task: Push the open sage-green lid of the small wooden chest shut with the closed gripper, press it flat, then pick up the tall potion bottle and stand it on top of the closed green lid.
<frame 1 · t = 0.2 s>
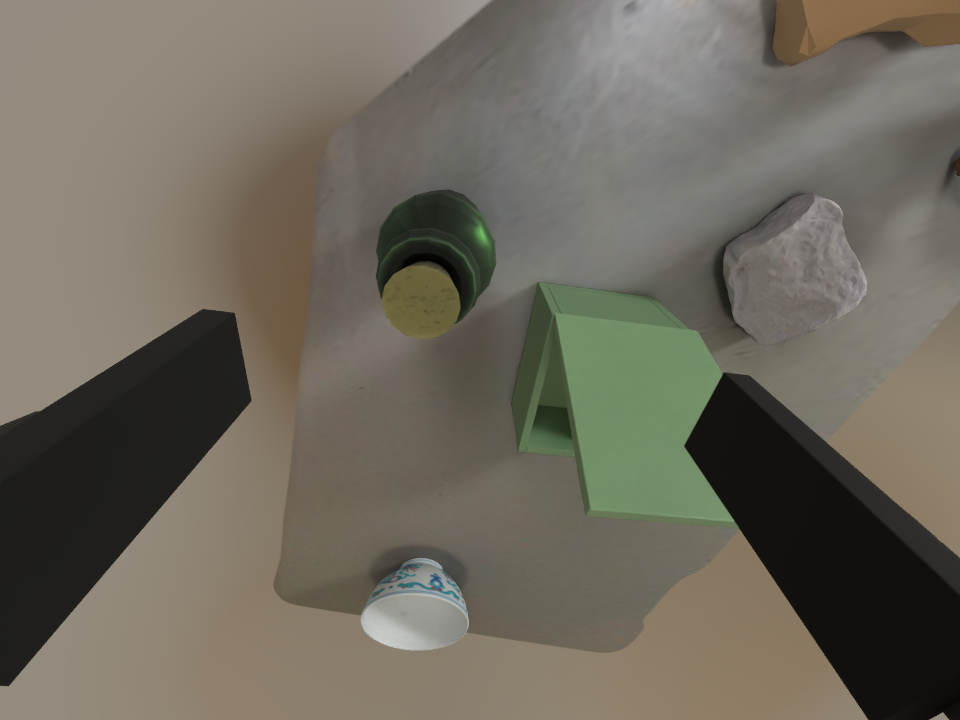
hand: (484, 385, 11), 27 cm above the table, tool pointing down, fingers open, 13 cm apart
stone block: (768, 273, 37), on the table
potion bottle: (446, 228, 34), on the table
chinaware: (421, 569, 60), on the table
chest: (576, 354, 41), on the table
chest lid: (654, 402, 25), point 16 cm above the table, hinge at 75.0°
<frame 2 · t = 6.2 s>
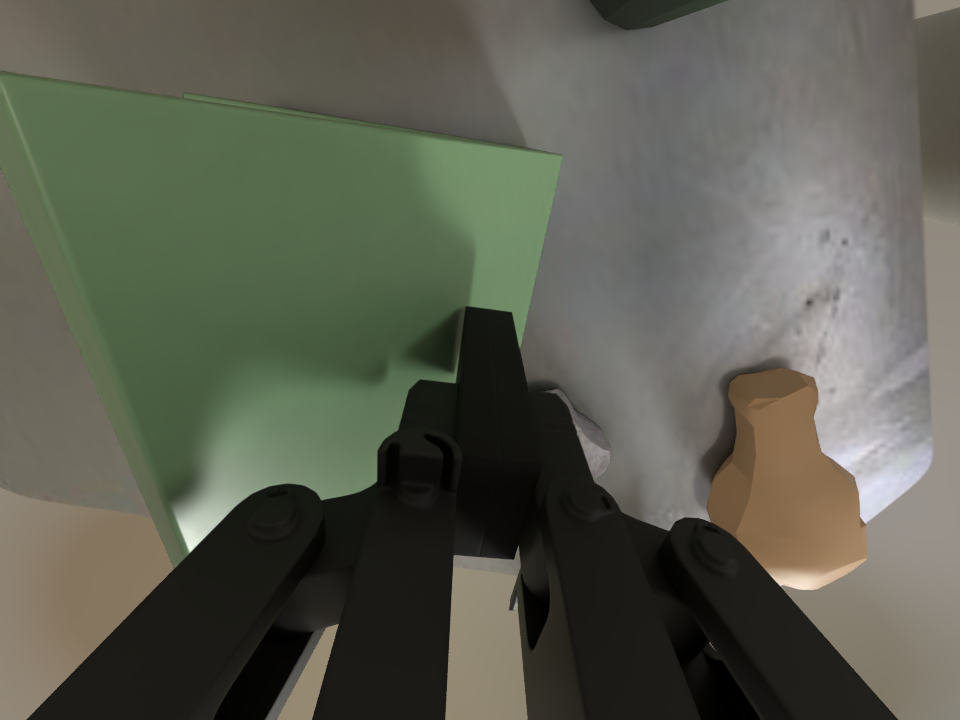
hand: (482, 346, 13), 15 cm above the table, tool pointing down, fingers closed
stone block: (519, 434, 34), on the table
squash: (748, 449, 35), on the table
chest: (401, 231, 25), on the table
chest lid: (434, 346, 12), point 15 cm above the table, hinge at 61.1°, touching gripper
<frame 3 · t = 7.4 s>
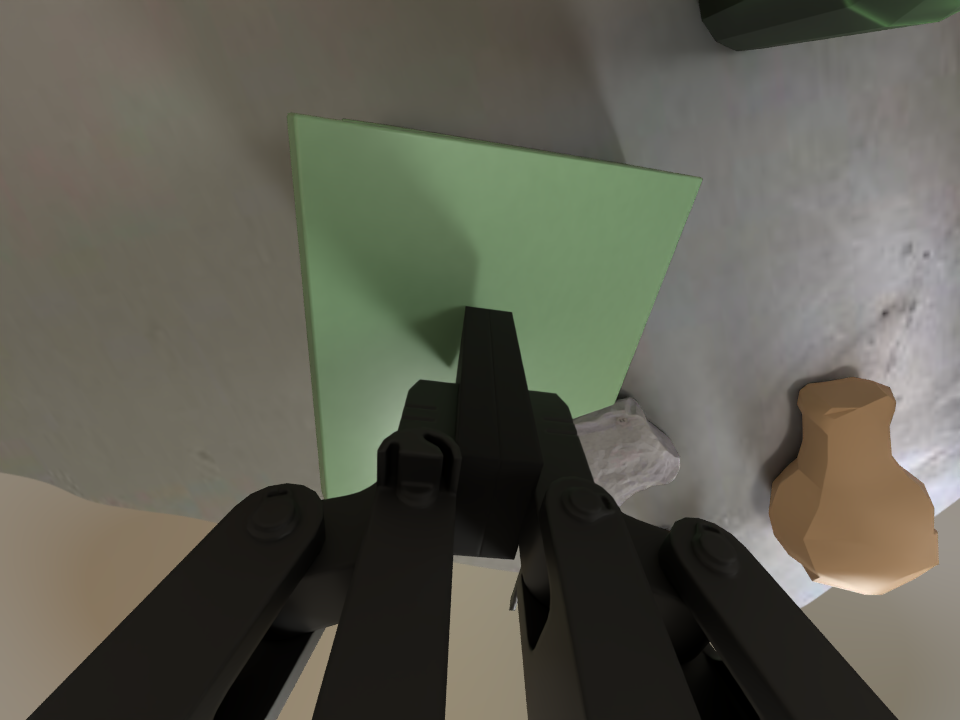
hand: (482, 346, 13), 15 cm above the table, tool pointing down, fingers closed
stone block: (585, 441, 34), on the table
squash: (809, 456, 35), on the table
chest: (492, 244, 25), on the table
chest lid: (524, 324, 15), point 12 cm above the table, hinge at 32.3°, touching gripper
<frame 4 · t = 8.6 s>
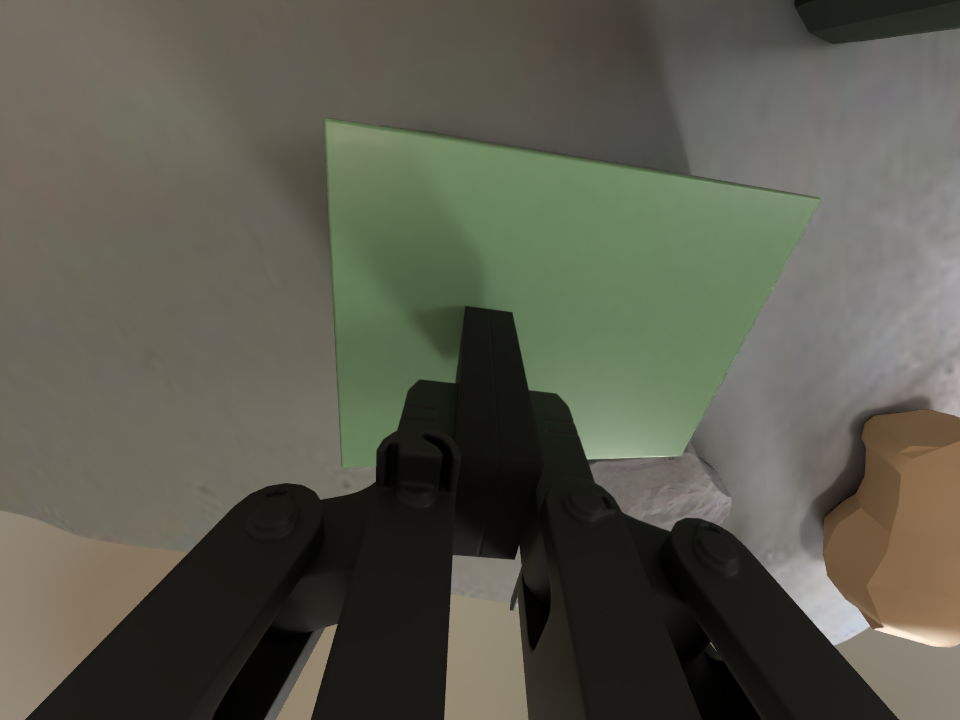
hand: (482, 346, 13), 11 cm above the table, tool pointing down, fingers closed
stone block: (623, 474, 31), on the table
squash: (866, 490, 32), on the table
chest: (533, 264, 22), on the table
chest lid: (558, 339, 14), point 10 cm above the table, hinge at 10.2°
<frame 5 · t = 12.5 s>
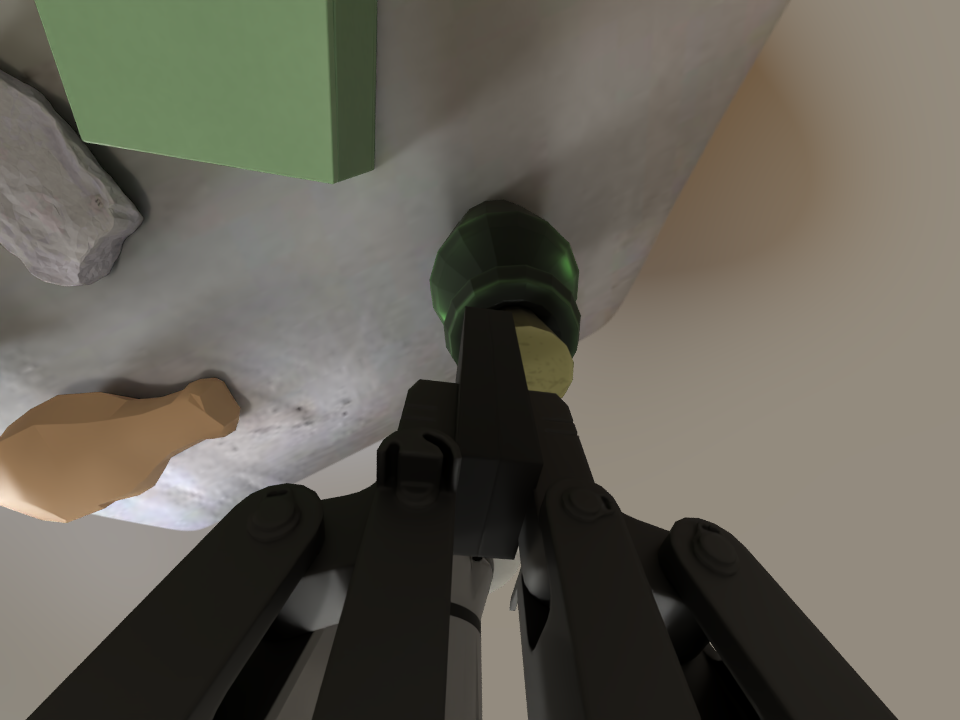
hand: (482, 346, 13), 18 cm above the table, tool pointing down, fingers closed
stone block: (55, 173, 27), on the table
potion bottle: (496, 244, 29), on the table, touching gripper
squash: (152, 412, 37), on the table
chest: (276, 14, 22), on the table
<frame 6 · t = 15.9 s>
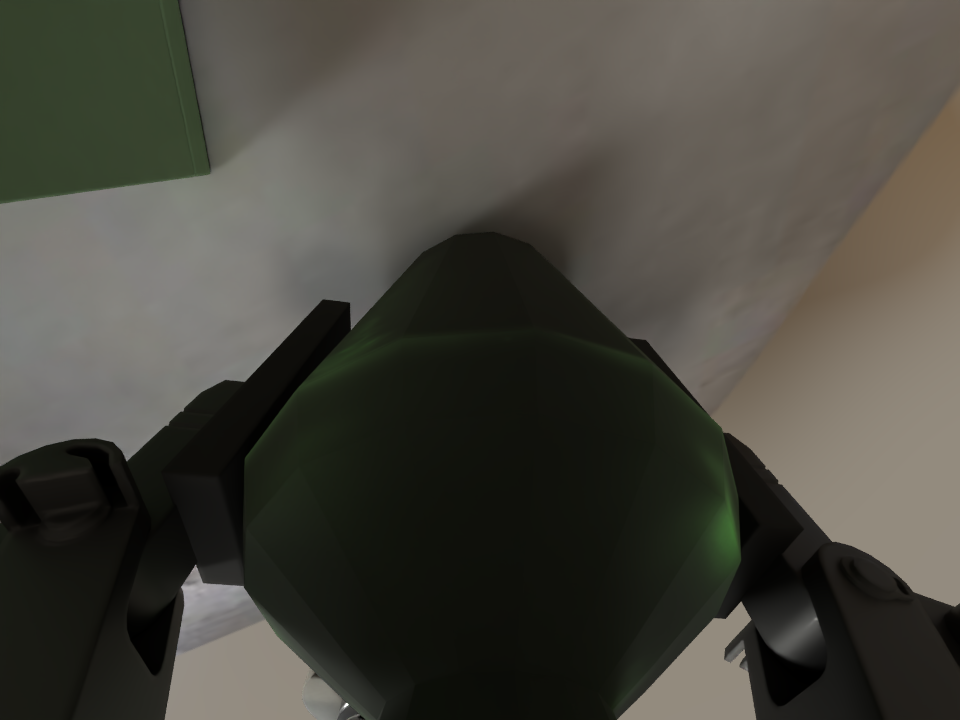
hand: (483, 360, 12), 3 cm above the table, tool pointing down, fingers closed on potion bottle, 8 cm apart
potion bottle: (481, 315, 15), on the table, touching gripper
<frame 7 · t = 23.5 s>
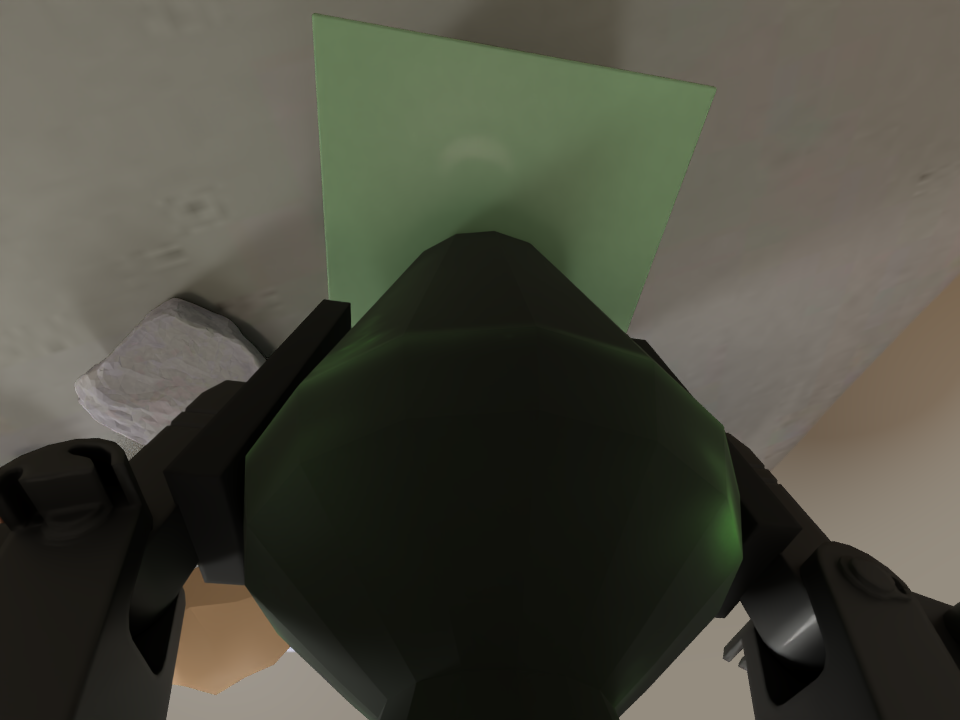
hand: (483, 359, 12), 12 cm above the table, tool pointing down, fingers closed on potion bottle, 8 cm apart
stone block: (229, 380, 27), on the table
potion bottle: (481, 314, 15), point 8 cm above the table, touching chest lid, gripper
squash: (279, 561, 37), on the table
chest lid: (483, 302, 15), point 8 cm above the table, hinge at 0.0°, touching potion bottle
when the fingers open (12 cm above the table, at t = 23.6 s): potion bottle stays where it is, resting on chest lid.
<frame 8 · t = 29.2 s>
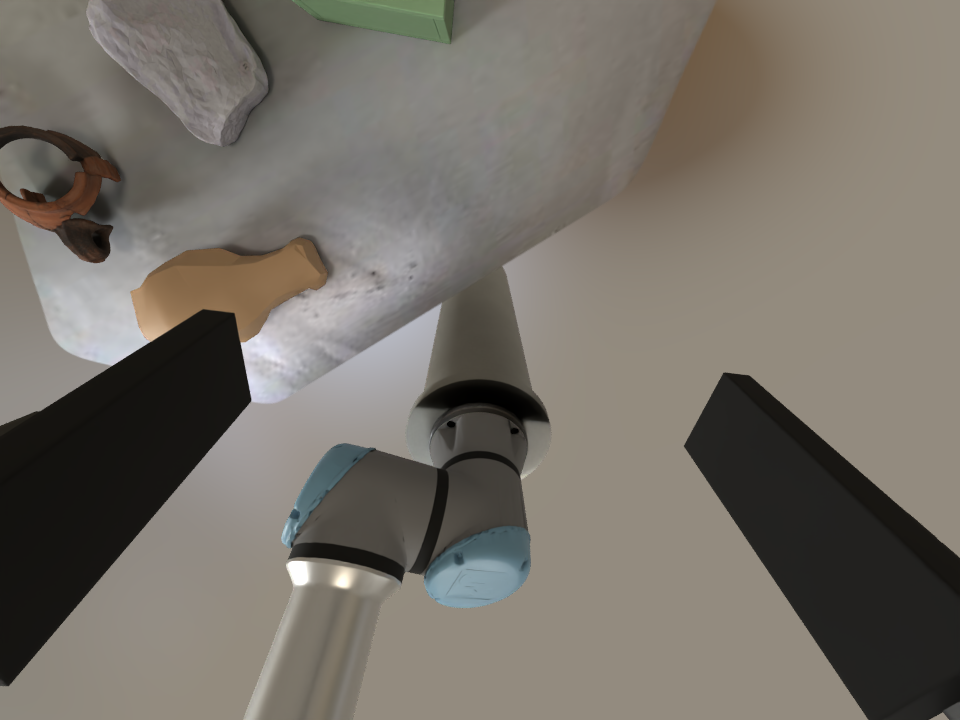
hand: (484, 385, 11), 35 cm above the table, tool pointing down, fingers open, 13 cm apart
stone block: (204, 52, 34), on the table
squash: (251, 279, 45), on the table
brown curved loop piece: (92, 196, 40), on the table
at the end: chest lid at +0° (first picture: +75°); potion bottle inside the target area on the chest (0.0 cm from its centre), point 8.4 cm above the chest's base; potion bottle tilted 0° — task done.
